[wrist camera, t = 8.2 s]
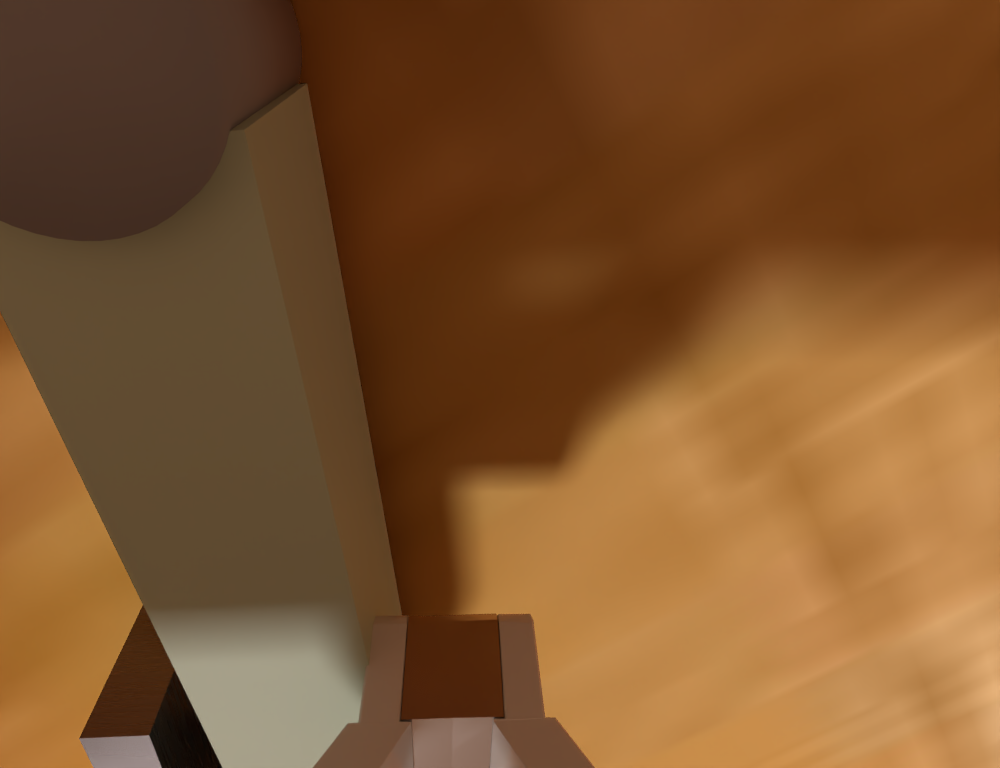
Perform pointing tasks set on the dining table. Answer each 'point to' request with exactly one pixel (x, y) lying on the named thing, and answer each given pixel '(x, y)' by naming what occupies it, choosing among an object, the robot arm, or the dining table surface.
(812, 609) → the dining table surface
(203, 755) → the leg socket
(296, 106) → the hinged leg
